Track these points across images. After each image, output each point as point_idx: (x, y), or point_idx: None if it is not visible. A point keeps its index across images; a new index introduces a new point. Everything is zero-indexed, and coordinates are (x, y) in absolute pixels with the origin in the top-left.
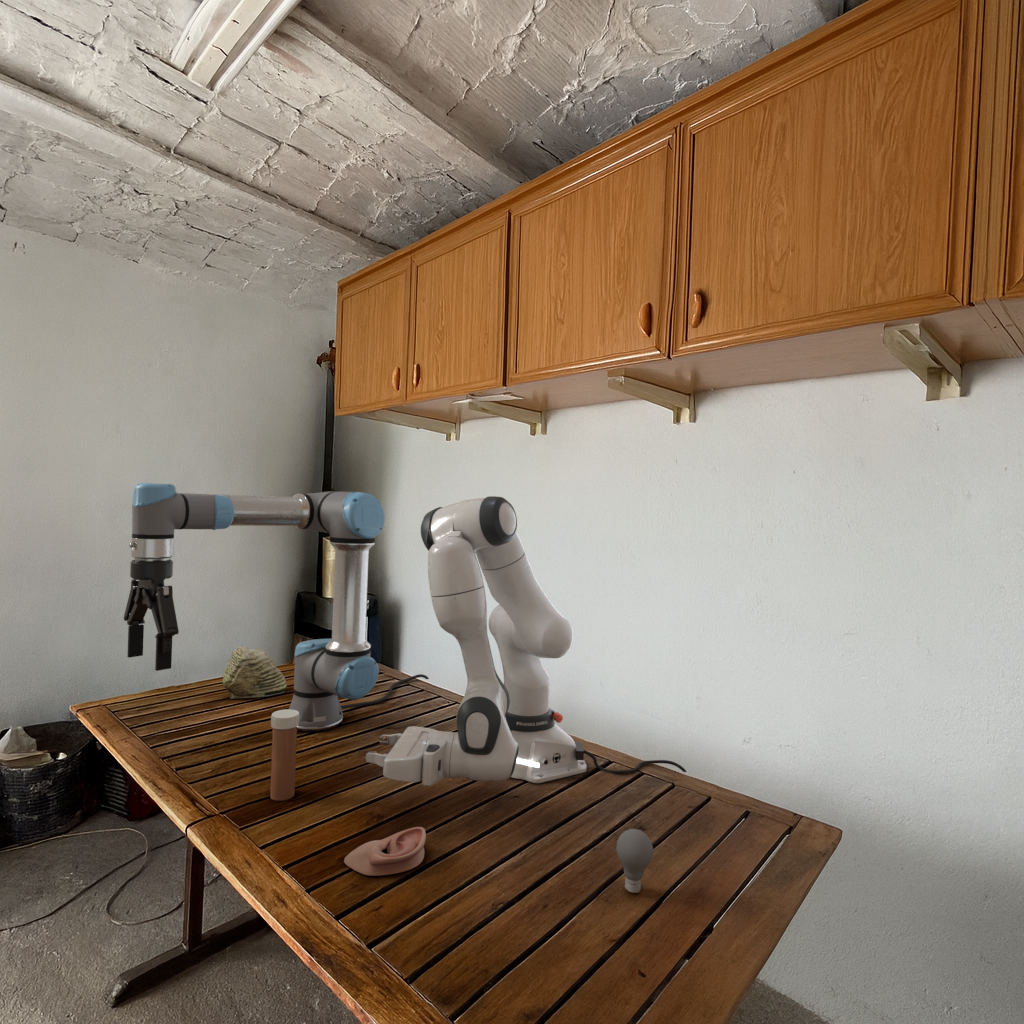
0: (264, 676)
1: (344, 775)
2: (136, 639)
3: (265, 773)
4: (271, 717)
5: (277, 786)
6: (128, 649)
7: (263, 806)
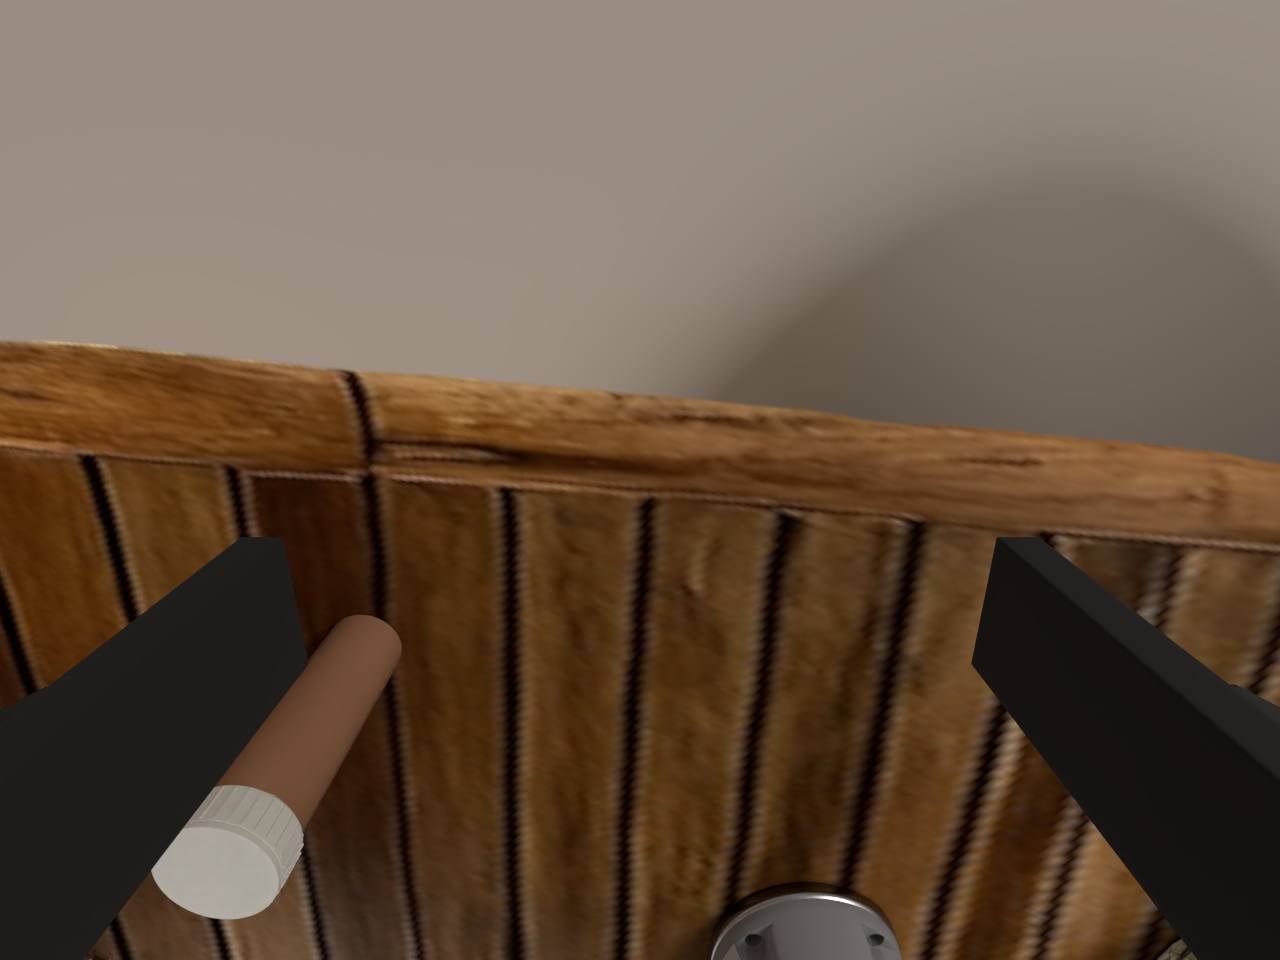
0: None
1: (376, 812)
2: (1109, 739)
3: (546, 683)
4: (239, 822)
5: (321, 645)
6: (1070, 582)
7: (331, 577)
